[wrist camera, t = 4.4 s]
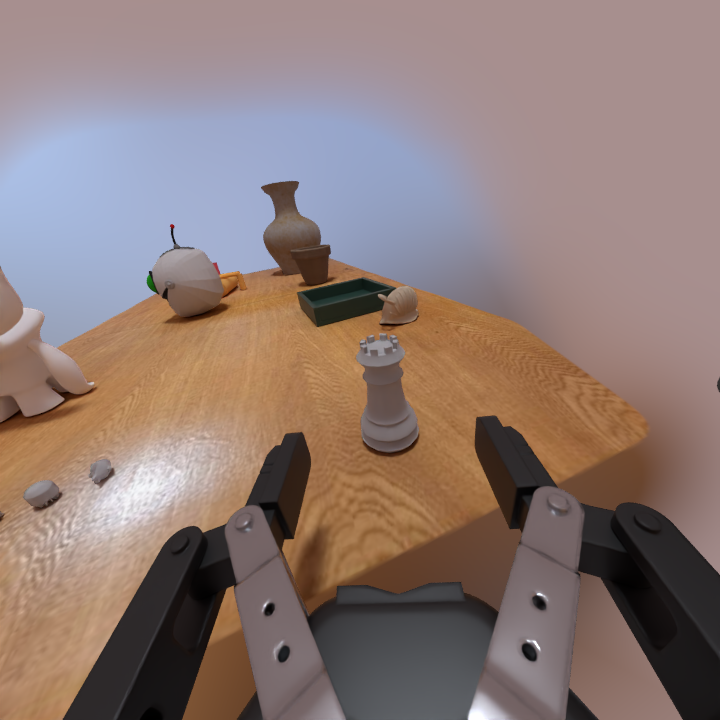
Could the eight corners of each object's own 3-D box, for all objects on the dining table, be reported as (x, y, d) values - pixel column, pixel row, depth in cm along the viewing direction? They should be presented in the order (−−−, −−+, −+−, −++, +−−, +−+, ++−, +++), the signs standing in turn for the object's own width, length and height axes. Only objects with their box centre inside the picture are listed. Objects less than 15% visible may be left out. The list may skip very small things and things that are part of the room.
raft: (152, 315, 75) (135, 282, 71) (192, 292, 102) (181, 267, 98) (236, 300, 77) (224, 267, 73) (254, 281, 104) (246, 256, 100)
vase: (271, 273, 118) (248, 193, 105) (319, 263, 124) (303, 186, 111) (276, 279, 100) (250, 183, 86) (333, 267, 106) (316, 175, 92)
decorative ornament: (426, 315, 44) (425, 281, 41) (389, 332, 40) (385, 296, 37) (407, 311, 47) (405, 279, 44) (371, 327, 43) (366, 293, 40)
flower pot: (341, 276, 86) (335, 242, 81) (327, 285, 76) (319, 247, 72) (309, 279, 90) (302, 246, 85) (291, 288, 80) (282, 252, 76)
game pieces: (119, 464, 23) (106, 447, 22) (111, 483, 21) (97, 465, 20) (-8, 512, 20) (-29, 495, 19) (-29, 537, 18) (-53, 520, 18)
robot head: (185, 310, 75) (149, 230, 66) (238, 300, 76) (210, 220, 67) (155, 330, 61) (103, 231, 51) (221, 317, 62) (182, 219, 53)
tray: (365, 291, 64) (363, 277, 62) (398, 305, 51) (396, 287, 49) (300, 307, 60) (296, 292, 58) (317, 327, 46) (313, 308, 45)
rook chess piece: (351, 446, 21) (331, 353, 17) (377, 411, 24) (365, 326, 20) (406, 464, 19) (397, 361, 15) (426, 422, 22) (423, 330, 18)
